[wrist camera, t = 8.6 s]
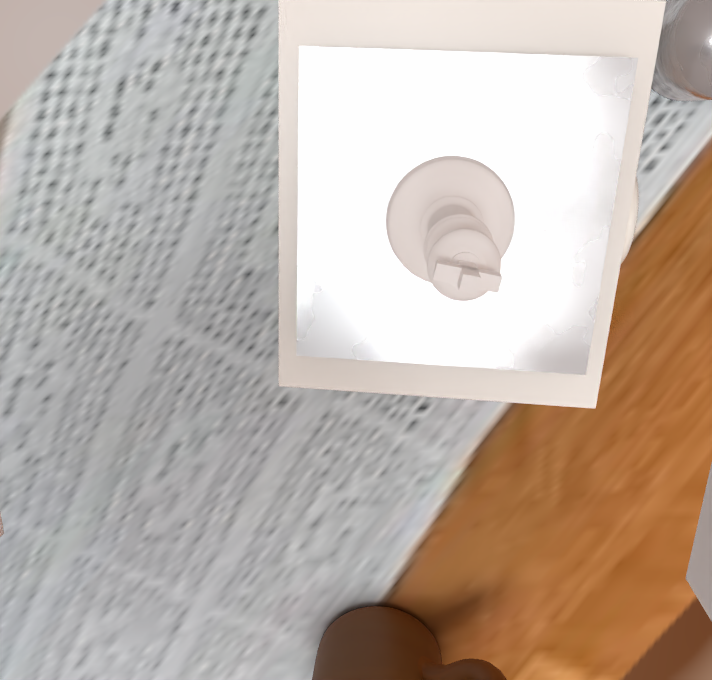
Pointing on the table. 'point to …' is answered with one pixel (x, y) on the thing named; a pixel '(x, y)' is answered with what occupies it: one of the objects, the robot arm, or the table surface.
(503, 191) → the chess piece
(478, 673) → the mug
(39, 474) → the table surface
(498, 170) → the textured square plate
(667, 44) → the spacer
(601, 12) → the scale
